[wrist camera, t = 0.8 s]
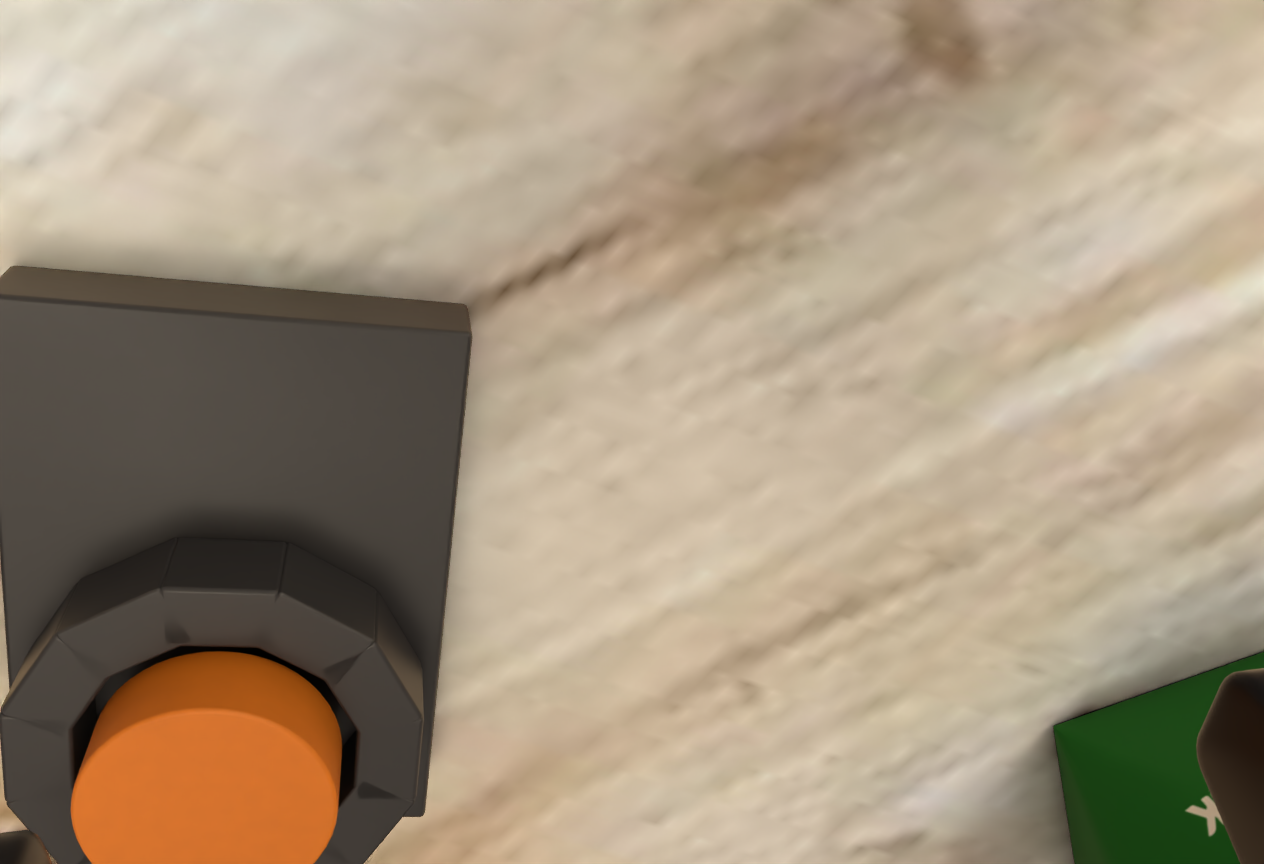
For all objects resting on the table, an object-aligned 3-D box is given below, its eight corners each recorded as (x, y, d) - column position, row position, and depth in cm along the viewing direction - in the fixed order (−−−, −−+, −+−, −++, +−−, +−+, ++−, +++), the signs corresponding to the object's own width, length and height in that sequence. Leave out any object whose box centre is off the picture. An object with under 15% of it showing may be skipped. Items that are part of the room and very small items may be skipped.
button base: (421, 788, 27) (423, 906, 24) (41, 789, 26) (-9, 916, 22) (468, 302, 23) (478, 370, 20) (10, 263, 21) (-59, 331, 18)
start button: (336, 839, 24) (332, 907, 22) (96, 841, 23) (74, 913, 21) (348, 652, 22) (344, 711, 20) (89, 646, 21) (64, 708, 19)
